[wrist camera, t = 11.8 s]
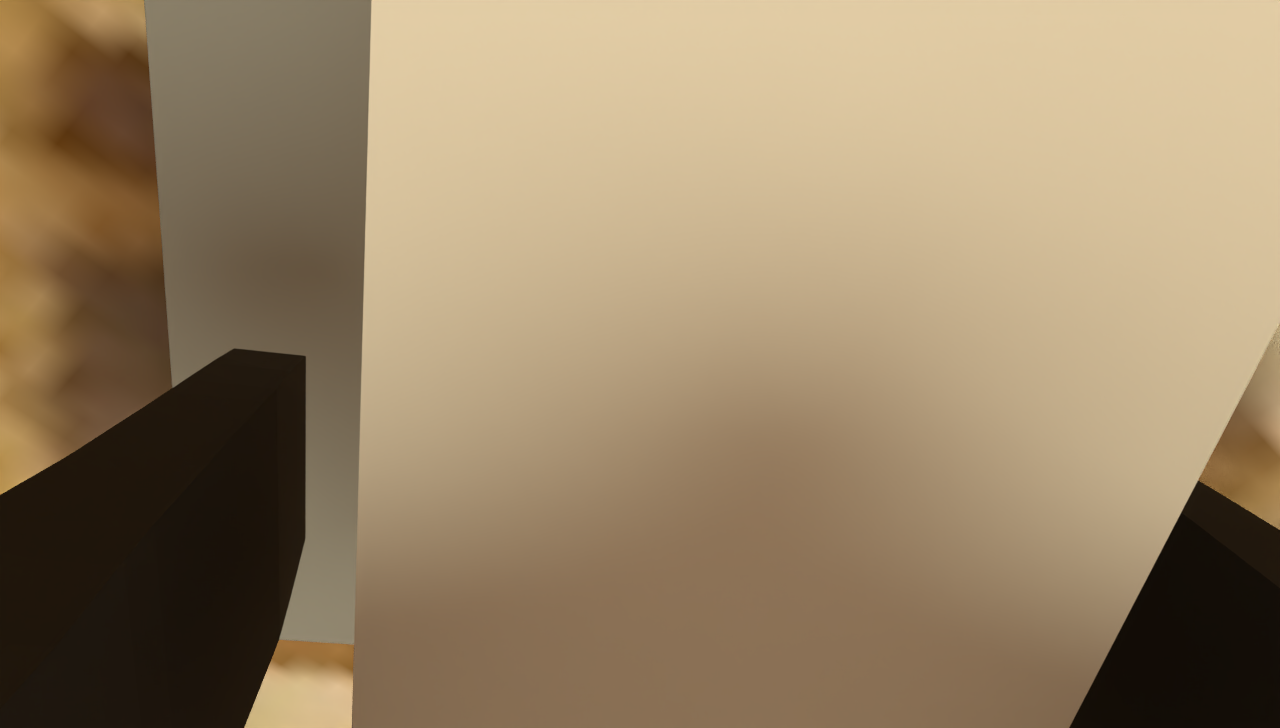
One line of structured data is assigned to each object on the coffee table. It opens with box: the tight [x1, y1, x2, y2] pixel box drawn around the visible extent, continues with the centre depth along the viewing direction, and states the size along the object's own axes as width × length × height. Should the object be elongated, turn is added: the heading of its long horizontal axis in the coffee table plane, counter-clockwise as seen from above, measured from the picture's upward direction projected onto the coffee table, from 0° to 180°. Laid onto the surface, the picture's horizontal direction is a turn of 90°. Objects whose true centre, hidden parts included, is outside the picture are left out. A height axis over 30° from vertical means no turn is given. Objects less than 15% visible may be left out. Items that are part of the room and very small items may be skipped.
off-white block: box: [352, 0, 1280, 728], centre depth 10 cm, size 10×5×7 cm, turn 171°
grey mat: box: [144, 0, 372, 644], centre depth 13 cm, size 13×12×1 cm
